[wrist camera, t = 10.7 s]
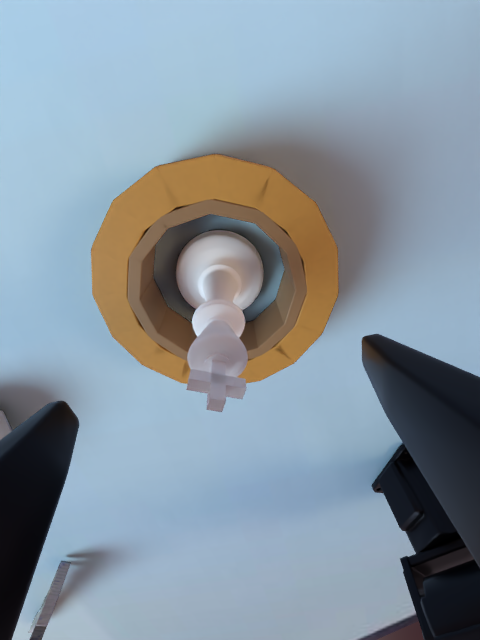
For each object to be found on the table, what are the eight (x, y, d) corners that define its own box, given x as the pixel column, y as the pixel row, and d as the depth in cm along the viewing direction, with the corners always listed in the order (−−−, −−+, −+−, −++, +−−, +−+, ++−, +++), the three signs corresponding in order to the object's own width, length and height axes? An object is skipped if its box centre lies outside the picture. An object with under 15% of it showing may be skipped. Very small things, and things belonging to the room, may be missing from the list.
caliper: (62, 555, 32) (29, 638, 26) (73, 557, 32) (42, 639, 27) (32, 621, 40) (2, 694, 35) (41, 622, 41) (12, 694, 35)
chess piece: (185, 218, 15) (133, 307, 6) (275, 243, 16) (336, 351, 7) (169, 301, 17) (116, 450, 9) (249, 319, 18) (272, 470, 10)
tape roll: (353, 187, 15) (381, 194, 12) (287, 366, 20) (296, 398, 18) (113, 128, 13) (86, 122, 10) (112, 341, 19) (94, 372, 16)
